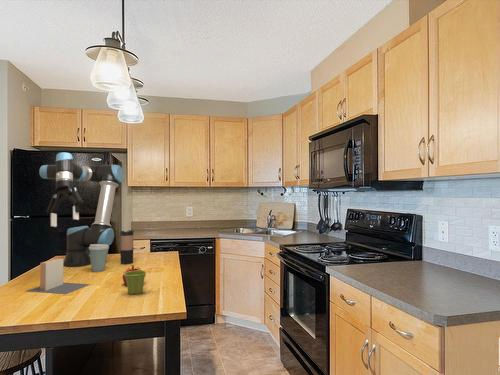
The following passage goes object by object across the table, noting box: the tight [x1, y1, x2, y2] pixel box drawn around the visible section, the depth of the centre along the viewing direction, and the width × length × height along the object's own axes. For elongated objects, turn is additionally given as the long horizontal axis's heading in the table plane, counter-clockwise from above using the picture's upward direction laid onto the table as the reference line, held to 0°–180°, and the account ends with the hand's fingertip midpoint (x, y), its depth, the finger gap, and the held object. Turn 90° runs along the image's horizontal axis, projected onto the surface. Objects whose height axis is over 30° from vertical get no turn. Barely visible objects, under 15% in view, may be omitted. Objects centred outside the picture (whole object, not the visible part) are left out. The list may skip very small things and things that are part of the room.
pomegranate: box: [122, 264, 143, 287], centre depth 160 cm, size 10×10×9 cm
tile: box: [39, 258, 64, 290], centre depth 153 cm, size 10×3×12 cm, turn 168°
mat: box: [25, 281, 92, 295], centre depth 152 cm, size 16×21×1 cm
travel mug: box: [119, 230, 134, 265], centre depth 208 cm, size 8×8×20 cm
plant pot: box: [123, 270, 147, 295], centre depth 146 cm, size 9×9×9 cm
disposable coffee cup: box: [88, 244, 110, 273], centre depth 188 cm, size 11×11×15 cm
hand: (64, 223), depth 160 cm, fingers open, 13 cm apart
